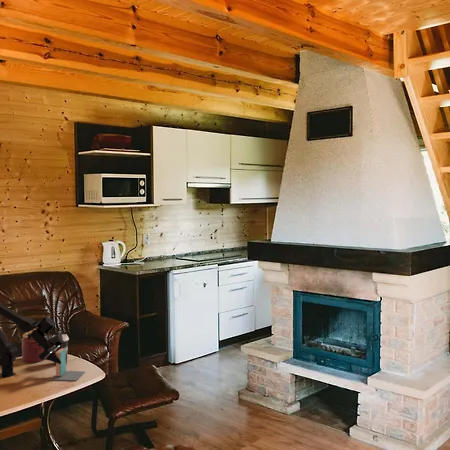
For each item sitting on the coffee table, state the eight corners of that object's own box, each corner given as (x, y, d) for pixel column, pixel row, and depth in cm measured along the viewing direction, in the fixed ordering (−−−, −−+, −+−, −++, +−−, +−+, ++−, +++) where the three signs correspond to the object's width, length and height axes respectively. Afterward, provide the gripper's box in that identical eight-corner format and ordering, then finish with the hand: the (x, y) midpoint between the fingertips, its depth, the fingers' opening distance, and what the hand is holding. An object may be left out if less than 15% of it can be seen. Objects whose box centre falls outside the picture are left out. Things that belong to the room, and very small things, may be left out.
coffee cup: (56, 367, 287) (55, 339, 286) (48, 362, 294) (47, 336, 293) (72, 363, 293) (71, 336, 292) (65, 358, 300) (64, 332, 299)
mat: (51, 380, 268) (51, 379, 268) (60, 371, 280) (60, 370, 279) (76, 381, 266) (76, 380, 266) (85, 372, 278) (84, 371, 278)
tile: (56, 375, 270) (55, 352, 269) (61, 371, 276) (60, 348, 275) (61, 376, 270) (60, 352, 269) (66, 371, 276) (65, 348, 275)
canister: (50, 359, 300) (49, 328, 298) (27, 365, 291) (26, 333, 289) (40, 354, 309) (39, 323, 308) (18, 359, 300) (17, 328, 299)
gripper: (44, 333, 262) (66, 356, 262) (59, 323, 281) (80, 344, 281) (29, 349, 264) (51, 371, 264) (45, 337, 282) (66, 359, 282)
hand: (63, 361), depth 272 cm, fingers closed on tile, 6 cm apart
